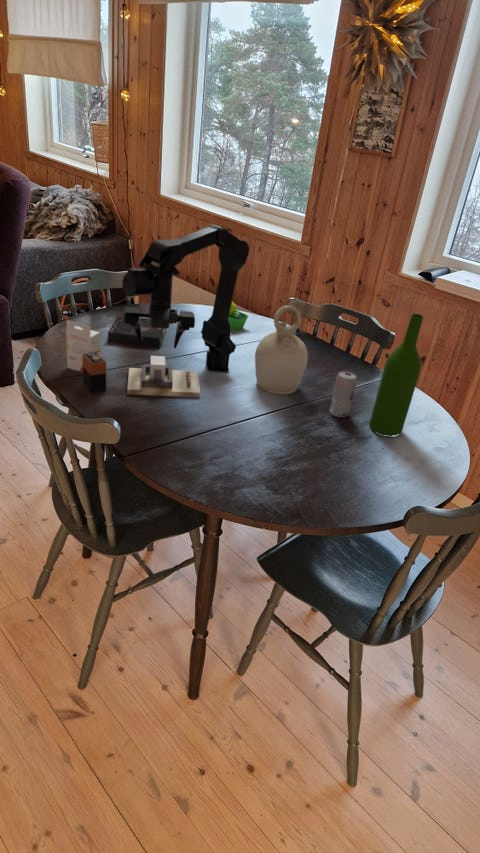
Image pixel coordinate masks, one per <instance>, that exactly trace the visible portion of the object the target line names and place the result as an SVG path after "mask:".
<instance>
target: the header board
mask: <svg viewBox="0 0 480 853" xmlns="http://www.w3.org/2000/svg"><path fill="white" fill-rule="evenodd" d="M141 365H142V366H141V367H139V368H137V367H129V368H128V380H127V388H126V389H127V391H126V392H127V393H126V394H127V395H137V396H138V395H139V396H140V395H141V396H159V397H160V396H161V397H180V398H181V397H182V398H183V397H185V398H201V386H200V383H199V382H200V381H199V376H198V371H197V370H196V371H195V370H178V369H173V366H171V365H165V380H151V379H150V366H151V364H141Z"/></svg>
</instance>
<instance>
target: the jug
mask: <svg viewBox="0 0 480 853" xmlns="http://www.w3.org/2000/svg"><path fill="white" fill-rule="evenodd" d="M286 312H292V313H293V314H294V316H295V322H294V323H293V324H292V325H290V326H288V323H287V322H284V321H282V322H280V318H281V316H282V315H283V314H284V313H286ZM301 322H302V316H301V313H300V311H299V309H298V308H296V307H295V306H294V305H290V304H287V305H283V306H281V307H280V308H278V309H277V311H276V312H275V314H274V317H273V323H274V324H273V325H274V327H275V329H276V330H275V331H274V332H272V333H269V334H267V335H265V336H264V337H263V338H262V339H260V341H259V343H258V345H257V346H256V349H255V352H254V354H255V355H254V364H255V378H256V383H257V386H258V387H259V388H260V389H261V390H263V391H265V392H267V393H270V394H274V395H282V396H283V395H289V394H294V393H295V392H296V391H297V390H298V386H299V385H300V383H301V381H302V378H303V376H304V373H305V370H306V368H307V365H308V357H309V356H308V349H307V346H306V345H305V343H304V342H303V341H302V339H301V338H299V337H298V336H297V335H296V334H294V332H295V331H297V329H299V327H300V325H301Z"/></svg>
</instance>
